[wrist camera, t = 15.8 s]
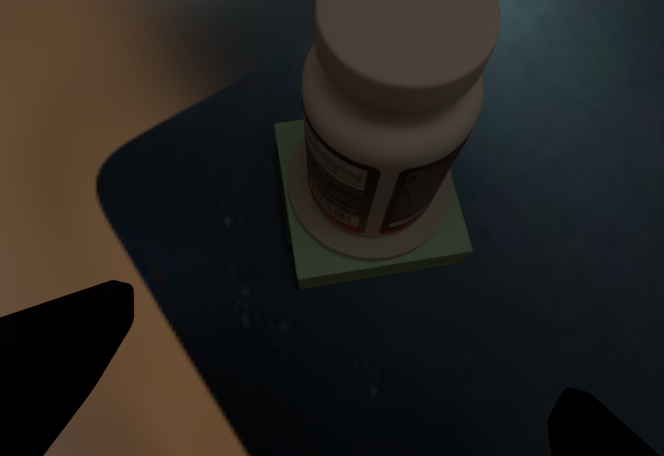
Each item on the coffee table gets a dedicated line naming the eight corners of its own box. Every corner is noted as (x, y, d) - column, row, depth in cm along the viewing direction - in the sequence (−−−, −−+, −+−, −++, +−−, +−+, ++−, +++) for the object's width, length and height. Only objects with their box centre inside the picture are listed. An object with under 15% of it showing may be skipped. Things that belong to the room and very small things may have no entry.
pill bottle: (425, 126, 22) (506, -75, 12) (439, 238, 20) (547, 102, 10) (306, 127, 21) (295, -75, 12) (308, 241, 19) (296, 106, 10)
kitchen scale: (295, 291, 22) (291, 277, 19) (274, 146, 24) (268, 116, 21) (459, 263, 22) (478, 247, 20) (421, 125, 25) (433, 94, 22)
